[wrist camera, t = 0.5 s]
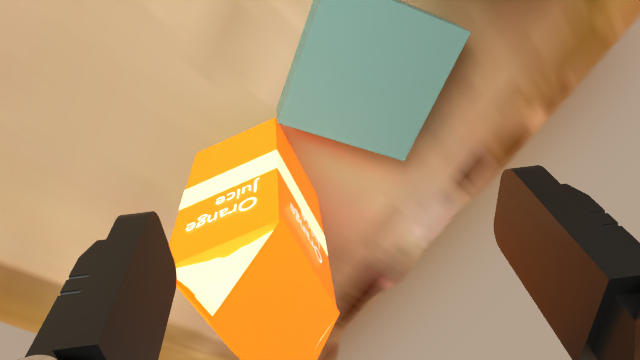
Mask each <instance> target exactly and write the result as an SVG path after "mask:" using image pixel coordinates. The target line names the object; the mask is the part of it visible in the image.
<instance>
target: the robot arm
mask: <svg viewBox="0 0 640 360" xmlns="http://www.w3.org/2000/svg"><path fill="white" fill-rule="evenodd" d="M494 234H495V238H496V241H497V244H498V246H499V248H500V250H501V251H502V253H503V254H504V256H505V257H506V259H507V260H508V262H509V264H510V265H511V267H512V268H513V270H514V271H515V273H516V274H517V275H518V277H519V279H520V280H521V282H522V283H523V285H524V286H525V288H526V290H527V291H528V293H529V294H530V296H531V297H532V299H533V300H534V302H535V303H536V305H537V306H538V308H539V309H540V311H541V312H542V314H543V316H544V317H545V318H546V320H547V322H548V323H549V324H550V326H551V328H552V329H553V330H554V332H555V334H556V335H557V337H558V338H559V340H560V341H561V343H562V345H563V346H564V348H565V349H566V351H567V352H568V354H569V355H570V357H571V358H572V360H640V243H639V242H638V241H637V240H636V239H635V238H634V237H633V236H632V235H631V234H630V233H629V232H627V231H626V230H625V229H624V228H623V227H622V226H618V223H617V221H615V219H613V218H612V217H611V216H610V215H609V214H608V213H606V214H605V210H603V208H602V207H601V206H600V205H598V204H597V203H596V202H595V201H594V200H593V199H592V198H591V197H590V196H589V195H587V194H585V193H583V192H581V191H579V190H577V189H575V188H573V187H571V186H570V185H567V184H560V183H559V182H558V181H557V180H556V179H555V178H554V177H553V176H552V175H551V174H550V173H549V172H548V171H547V170H546V169H545V168H543V167H542V166H539V165H537V166H529V167H520V168H512V169H506V170H505V171H504V172H503V173H502V176H501V181H500V187H499V193H498V199H497V206H496V212H495V218H494ZM176 284H177V273H176V265H175V261H174V258H173V256H172V253H171V250H170V247H169V244H168V241H167V239H166V236H165V233H164V230H163V227H162V224H161V222H160V219H159V217H158V215H157V214H156V213H155V212H154V211H152V212H144V213H136V214H128V215H120V216H118V217H117V219H116V221H115V223H114V225H113V227H112V229H111V231H110V233H109V235H108V237H107V239H106V240H98V241H96V242H95V243H94V244H93V245H92V246H91V247H90V248H89V249H88V250H86V251H85V252H84V253H83V254H82V255H81V256H80V257H79V258H78V260H77V262H76V264H75V266H74V268H73V269H72V271H71V273H70V275H69V280H66V282H65V284H64V286H63V288H62V290H61V292H60V293H61V295H60V296H58V297H57V299H56V301H55V303H54V304H53V306H52V308H51V310H50V312H49V314H48V315H47V317H46V319H45V321H44V323H43V325H42V327H41V328H40V330H39V332H38V334H37V336H36V338H35V339H34V341H33V344H32V345H31V347H30V349H29V351H28V352H27V354H26V356H25V358H21V359H19V360H158V358H159V354H160V350H161V346H162V342H163V338H164V334H165V330H166V326H167V322H168V318H169V314H170V310H171V306H172V302H173V298H174V294H175V290H176Z"/></svg>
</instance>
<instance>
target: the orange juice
mask: <svg viewBox="0 0 640 360" xmlns="http://www.w3.org/2000/svg"><path fill="white" fill-rule="evenodd" d="M169 247H170V250H171V253H172V256H173V258H174V261H175V265H176V273H177V284H176V287H177V288H178V289H179V290H180V291H181V292H182V294H183V295H184V296H185V297H186V298H187V299H188V300H189V302H190V303H191V304H192V305H193V306H194V307H195V309H196V310H197V311H198V312H199V313H200V314H201V315H202V317H203V318H204V319H205V320H206V321H207V322H208V324H209V325H210V326H211V327H212V328H213V329H214V330H215V332H216V333H217V334H218V335H219V336H220V337H221V339H222V340H223V341H224V342H225V343H226V344H227V345H228V347H229V348H230V349H231V350H232V351H233V352H234V354H235V355H237V356H238V357H239V358H240V359H241V360H317V358H318V356H319V354H320V352H321V350H322V348H323V346H324V344H325V342H326V340H327V338H328V336H329V334H330V332H331V330H332V328H333V326H334V324H335V322H336V320H337V318H338V316H339V314H340V313H339V311H338V309H337V307H336V301H335V295H334V290H333V284H332V278H331V272H330V267H329V261H328V252H327V246H326V241H325V235H324V233H323V227H322V221H321V216H320V210H319V204H318V198H317V195H316V193H315V191H314V189H313V187H312V185H311V183H310V182H309V180H308V178H307V176H306V174H305V172H304V170H303V169H302V167H301V165H300V163H299V161H298V159H297V157H296V155H295V154H294V152H293V150H292V148H291V146H290V144H289V142H288V140H287V139H286V137H285V135H284V133H283V131H282V129H281V127H280V125H279V124H278V123H277V120H276V118H273V119H271V120H269V121H267V122H265V123H262V124H260V125H258V126H256V127H254V128H251V129H249V130H247V131H245V132H243V133H240V134H238V135H236V136H234V137H232V138H229V139H227V140H225V141H223V142H220V143H218V144H216V145H214V146H212V147H209V148H207V149H205V150H203V151H201V152H198V153H197V154H196V157H195V160H194V163H193V167H192V170H191V173H190V177H189V180H188V183H187V187H186V190H185V191H184V194H183V197H182V200H181V204H180V207H179V213H178V217H177V220H176V223H175V226H174V230H173V233H172V236H171V240H170V243H169Z"/></svg>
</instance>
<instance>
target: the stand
mask: <svg viewBox="0 0 640 360" xmlns="http://www.w3.org/2000/svg"><path fill="white" fill-rule="evenodd" d="M470 33H471V32H470V31H468V30H466V29H464V28H463V27H461V26H459V25H457V24H455V23H453V22H451V21H448V20H446V19H443V18H441V17H438V16H436V15H433V14H431V13H428V12H426V11H423V10H421V9H419V8H416V7H414V6H411V5H409V4H406V3H404V2H401V1H399V0H314V1H313V4H312V7H311V10H310V12H309V15H308V18H307V21H306V24H305V27H304V30H303V33H302V36H301V39H300V42H299V45H298V48H297V50H296V53H295V56H294V59H293V62H292V65H291V68H290V71H289V74H288V77H287V80H286V83H285V86H284V88H283V91H282V94H281V97H280V100H279V103H278V106H277V123H279V124H282V125H285V126H289V127H292V128H295V129H299V130H302V131H305V132H309V133H312V134H315V135H319V136H322V137H325V138H329V139H332V140H335V141H339V142H342V143H345V144H349V145H352V146H355V147H359V148H362V149H365V150H369V151H372V152H375V153H379V154H382V155H385V156H389V157H392V158H395V159H398V160H402V161H405V159H406V157H407V155H408V153H409V151H410V149H411V147H412V145H413V143H414V141H415V139H416V137H417V135H418V134H419V132H420V130H421V128H422V126H423V124H424V122H425V120H426V118H427V116H428V114H429V112H430V110H431V108H432V106H433V105H434V103H435V101H436V99H437V97H438V95H439V93H440V91H441V89H442V87H443V85H444V83H445V81H446V79H447V77H448V76H449V74H450V72H451V70H452V68H453V66H454V64H455V62H456V60H457V58H458V56H459V54H460V52H461V50H462V49H463V47H464V45H465V43H466V41H467V39H468V37H469V35H470Z"/></svg>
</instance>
